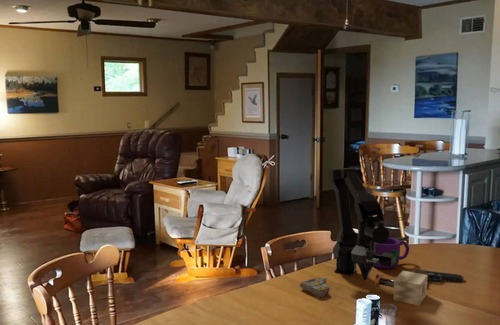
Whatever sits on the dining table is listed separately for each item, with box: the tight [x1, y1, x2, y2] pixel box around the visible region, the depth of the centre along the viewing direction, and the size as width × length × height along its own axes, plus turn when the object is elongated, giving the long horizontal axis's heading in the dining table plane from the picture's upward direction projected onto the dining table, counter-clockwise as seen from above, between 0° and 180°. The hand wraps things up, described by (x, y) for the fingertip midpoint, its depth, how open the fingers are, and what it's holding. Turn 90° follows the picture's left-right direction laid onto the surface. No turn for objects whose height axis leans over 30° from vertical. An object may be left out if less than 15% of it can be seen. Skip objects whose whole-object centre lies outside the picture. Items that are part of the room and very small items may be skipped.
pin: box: [374, 273, 394, 289], centre depth 160 cm, size 12×4×4 cm, turn 57°
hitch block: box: [393, 270, 428, 306], centre depth 157 cm, size 8×10×7 cm
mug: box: [373, 237, 410, 270], centre depth 189 cm, size 17×11×10 cm, turn 111°
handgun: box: [412, 269, 465, 284], centre depth 170 cm, size 3×18×12 cm
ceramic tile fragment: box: [299, 277, 330, 298], centre depth 163 cm, size 12×3×10 cm
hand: (365, 280), depth 165 cm, fingers closed
